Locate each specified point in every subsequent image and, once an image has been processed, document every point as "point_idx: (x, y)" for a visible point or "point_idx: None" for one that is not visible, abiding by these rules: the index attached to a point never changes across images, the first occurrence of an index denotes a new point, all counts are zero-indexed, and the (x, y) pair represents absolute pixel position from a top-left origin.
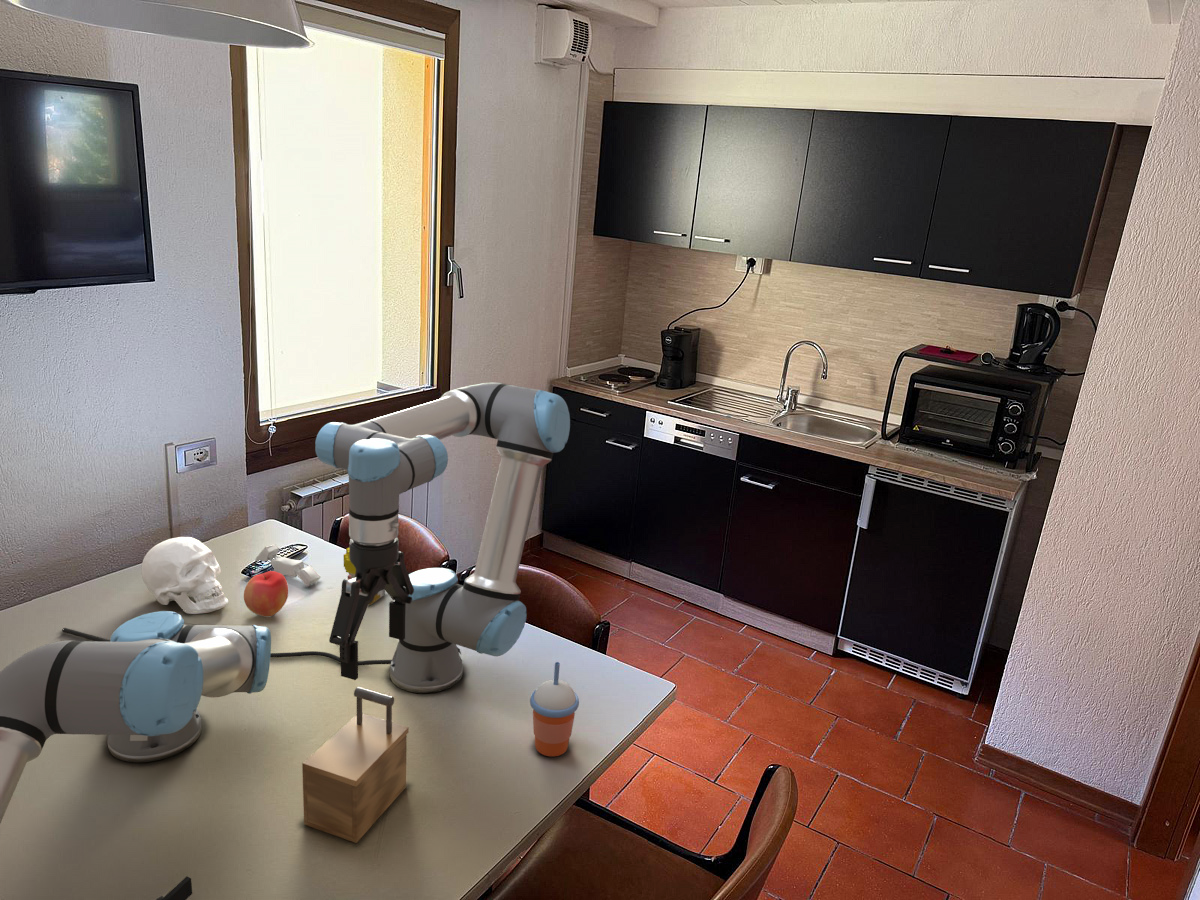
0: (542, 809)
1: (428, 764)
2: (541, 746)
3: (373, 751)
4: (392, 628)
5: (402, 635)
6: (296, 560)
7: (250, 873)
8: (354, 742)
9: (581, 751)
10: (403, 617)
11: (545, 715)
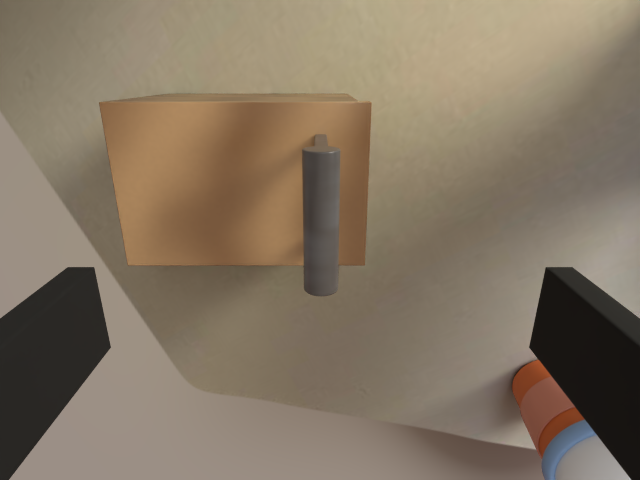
0: (384, 418)
1: (421, 215)
2: (520, 387)
3: (237, 242)
4: (576, 321)
5: (544, 366)
6: None
7: (25, 84)
8: (243, 177)
9: None
10: (630, 467)
11: (542, 460)
